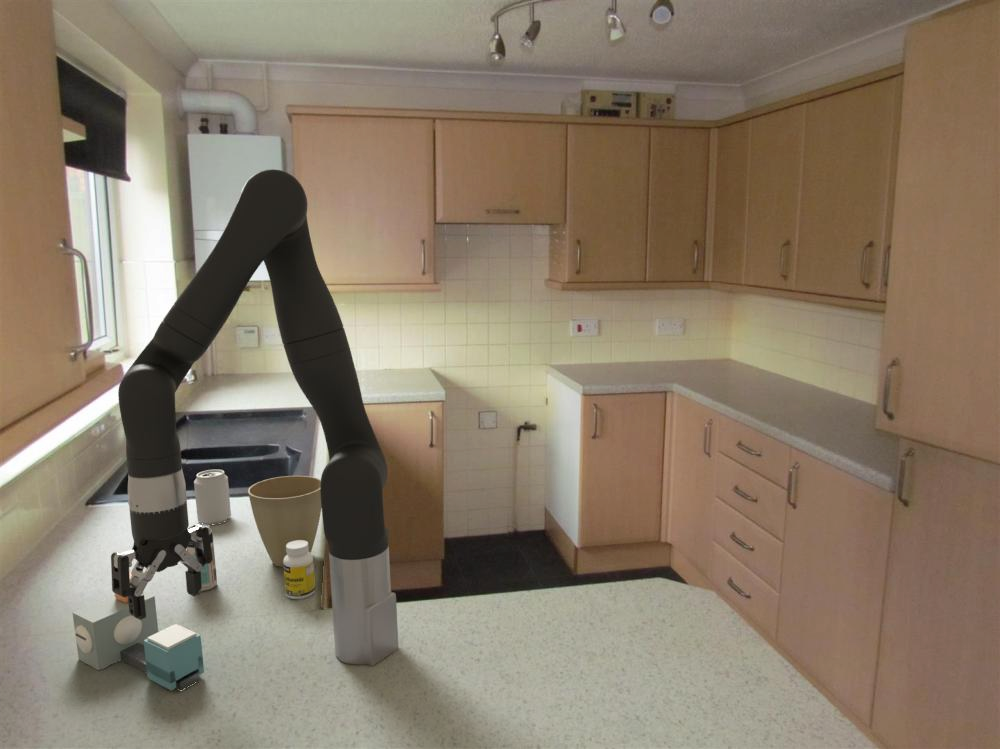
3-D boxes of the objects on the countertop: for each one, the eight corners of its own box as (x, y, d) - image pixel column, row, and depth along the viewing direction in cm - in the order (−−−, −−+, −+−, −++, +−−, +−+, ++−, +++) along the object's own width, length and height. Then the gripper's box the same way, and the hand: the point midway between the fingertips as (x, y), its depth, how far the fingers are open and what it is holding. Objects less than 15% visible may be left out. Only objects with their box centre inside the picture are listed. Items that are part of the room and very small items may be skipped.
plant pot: (299, 580, 142) (293, 502, 139) (238, 569, 147) (231, 494, 144) (342, 550, 155) (338, 478, 152) (285, 541, 161) (280, 472, 158)
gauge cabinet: (160, 641, 120) (155, 596, 119) (96, 673, 111) (90, 624, 110) (138, 631, 124) (133, 587, 122) (75, 661, 115) (68, 614, 114)
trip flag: (143, 595, 119) (141, 575, 118) (125, 603, 116) (123, 582, 116) (133, 591, 121) (130, 571, 120) (115, 598, 118) (112, 578, 118)
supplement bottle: (279, 597, 135) (275, 547, 133) (297, 585, 140) (293, 536, 138) (304, 602, 133) (300, 551, 131) (321, 588, 138) (318, 540, 136)
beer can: (209, 579, 143) (203, 521, 141) (222, 586, 140) (216, 527, 138) (185, 588, 139) (179, 529, 137) (198, 595, 136) (192, 534, 134)
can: (219, 512, 179) (215, 466, 177) (237, 519, 175) (233, 471, 173) (191, 522, 173) (186, 474, 171) (209, 529, 169) (205, 479, 167)
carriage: (204, 672, 110) (200, 632, 109) (171, 690, 105) (166, 649, 104) (180, 660, 113) (176, 622, 112) (147, 677, 109) (143, 637, 108)
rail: (199, 681, 109) (198, 672, 108) (181, 691, 106) (180, 682, 106) (139, 651, 117) (138, 642, 117) (121, 659, 115) (120, 651, 115)
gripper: (124, 521, 97) (135, 634, 100) (217, 492, 109) (225, 593, 111) (94, 510, 101) (106, 618, 104) (187, 483, 113) (195, 581, 115)
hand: (167, 605), depth 108 cm, fingers open, 8 cm apart
